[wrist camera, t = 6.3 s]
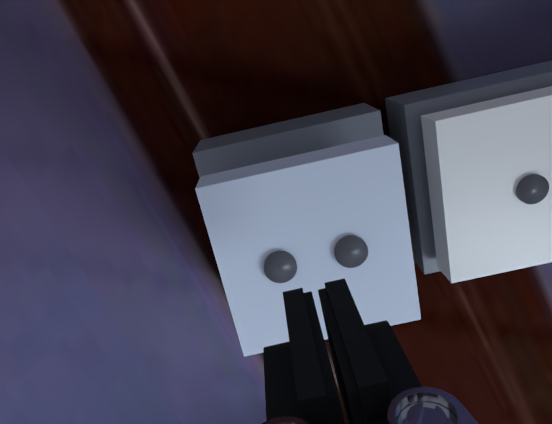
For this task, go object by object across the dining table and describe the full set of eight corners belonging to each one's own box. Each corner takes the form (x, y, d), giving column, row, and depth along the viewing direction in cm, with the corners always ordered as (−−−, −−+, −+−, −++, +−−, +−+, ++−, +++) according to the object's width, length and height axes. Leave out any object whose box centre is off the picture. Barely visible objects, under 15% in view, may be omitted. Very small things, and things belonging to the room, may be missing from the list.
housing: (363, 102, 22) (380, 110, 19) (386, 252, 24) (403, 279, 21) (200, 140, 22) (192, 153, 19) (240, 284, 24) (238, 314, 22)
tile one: (544, 73, 21) (627, 79, 17) (547, 210, 24) (619, 250, 19) (397, 106, 22) (437, 121, 17) (414, 239, 24) (453, 285, 19)
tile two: (365, 122, 20) (400, 144, 15) (387, 264, 22) (423, 322, 17) (208, 157, 20) (194, 190, 15) (246, 294, 22) (244, 359, 18)
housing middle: (552, 59, 21) (598, 61, 18) (554, 216, 24) (594, 238, 21) (384, 98, 22) (403, 104, 19) (404, 248, 24) (424, 274, 21)
